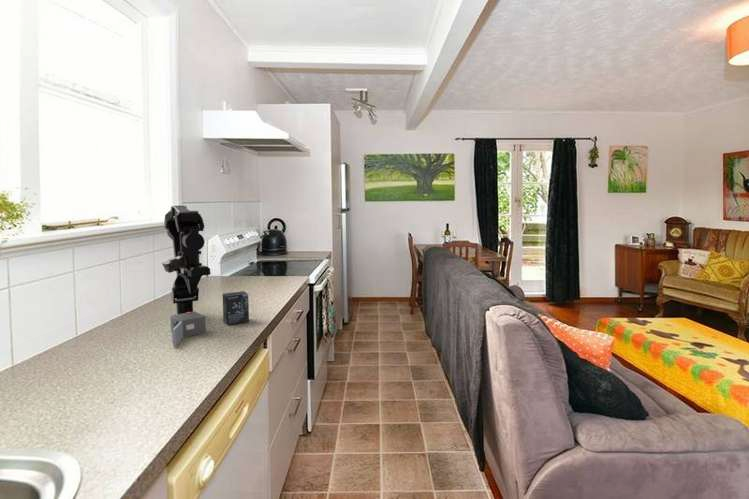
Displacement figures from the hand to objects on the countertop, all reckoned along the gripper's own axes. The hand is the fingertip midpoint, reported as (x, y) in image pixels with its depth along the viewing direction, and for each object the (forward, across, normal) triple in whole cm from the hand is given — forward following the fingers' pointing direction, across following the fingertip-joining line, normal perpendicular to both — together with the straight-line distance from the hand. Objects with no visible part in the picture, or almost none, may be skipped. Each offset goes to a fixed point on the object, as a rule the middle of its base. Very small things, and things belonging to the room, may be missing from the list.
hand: (192, 293), depth 146 cm
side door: (+12, +12, -9) cm, 19 cm away
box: (+12, +3, +14) cm, 19 cm away
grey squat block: (+12, +4, -3) cm, 13 cm away
